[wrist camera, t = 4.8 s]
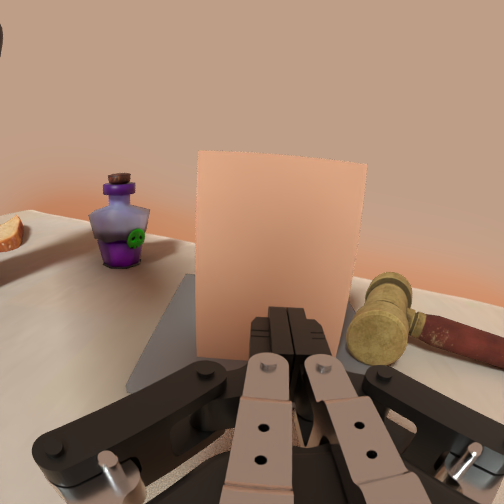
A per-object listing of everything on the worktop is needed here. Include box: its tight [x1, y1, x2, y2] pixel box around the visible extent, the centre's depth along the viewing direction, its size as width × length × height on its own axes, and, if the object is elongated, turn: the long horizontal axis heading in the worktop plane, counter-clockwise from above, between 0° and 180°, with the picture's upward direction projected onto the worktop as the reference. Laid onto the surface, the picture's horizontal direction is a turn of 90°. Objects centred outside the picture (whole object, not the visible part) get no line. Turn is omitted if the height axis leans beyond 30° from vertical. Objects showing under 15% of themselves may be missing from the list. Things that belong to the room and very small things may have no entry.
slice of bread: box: [0, 215, 23, 252], centre depth 47 cm, size 18×18×4 cm
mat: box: [126, 274, 371, 409], centre depth 27 cm, size 18×20×1 cm
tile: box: [195, 150, 367, 361], centre depth 20 cm, size 10×2×14 cm, turn 89°
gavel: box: [346, 272, 504, 368], centre depth 21 cm, size 21×5×10 cm
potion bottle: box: [89, 173, 150, 269], centre depth 39 cm, size 9×9×12 cm
